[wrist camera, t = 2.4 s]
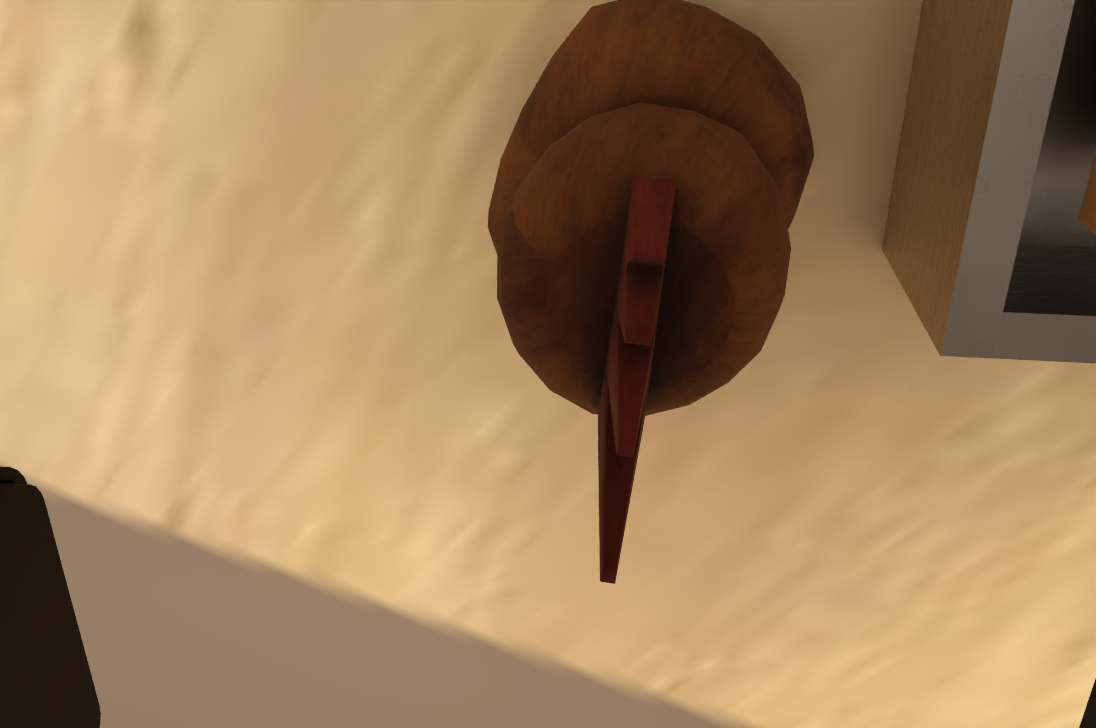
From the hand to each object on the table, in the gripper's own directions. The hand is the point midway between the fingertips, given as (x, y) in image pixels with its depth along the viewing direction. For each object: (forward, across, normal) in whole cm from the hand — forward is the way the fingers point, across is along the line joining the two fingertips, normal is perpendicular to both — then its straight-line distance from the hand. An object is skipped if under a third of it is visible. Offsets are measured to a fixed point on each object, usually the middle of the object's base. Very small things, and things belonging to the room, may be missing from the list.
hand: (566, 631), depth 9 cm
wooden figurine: (+18, -1, 0) cm, 18 cm away
